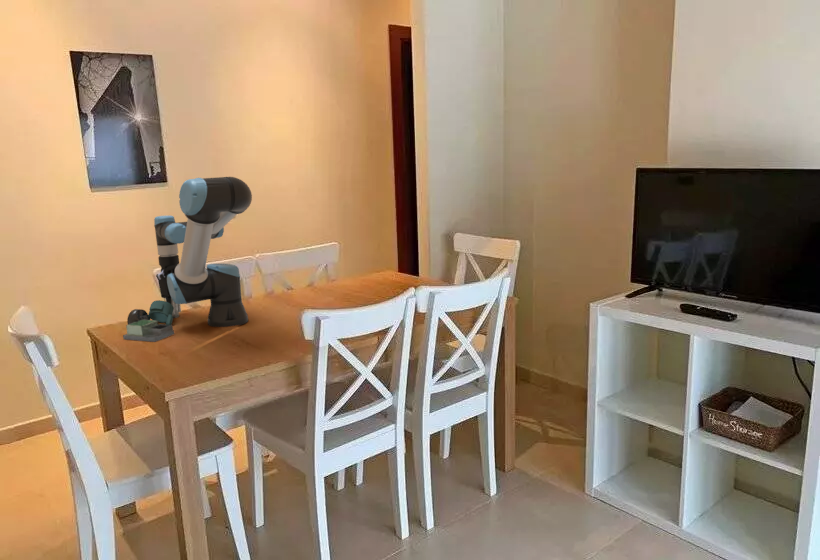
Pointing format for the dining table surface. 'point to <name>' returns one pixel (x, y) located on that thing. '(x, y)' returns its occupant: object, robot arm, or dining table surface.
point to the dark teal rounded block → (161, 312)
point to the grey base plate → (147, 331)
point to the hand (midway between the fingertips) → (174, 312)
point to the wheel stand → (137, 316)
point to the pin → (176, 311)
